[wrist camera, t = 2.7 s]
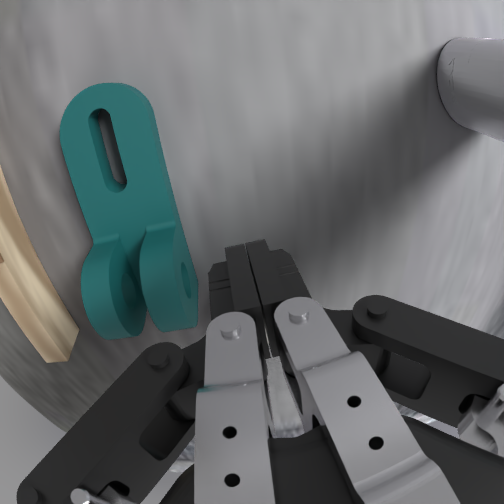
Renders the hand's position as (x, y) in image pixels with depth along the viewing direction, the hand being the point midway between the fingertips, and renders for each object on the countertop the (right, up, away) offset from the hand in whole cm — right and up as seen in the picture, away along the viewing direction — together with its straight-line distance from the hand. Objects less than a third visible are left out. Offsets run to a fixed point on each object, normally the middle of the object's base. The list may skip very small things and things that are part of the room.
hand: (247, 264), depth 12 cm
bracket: (-9, +5, +11) cm, 15 cm away
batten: (-21, +2, +10) cm, 24 cm away
